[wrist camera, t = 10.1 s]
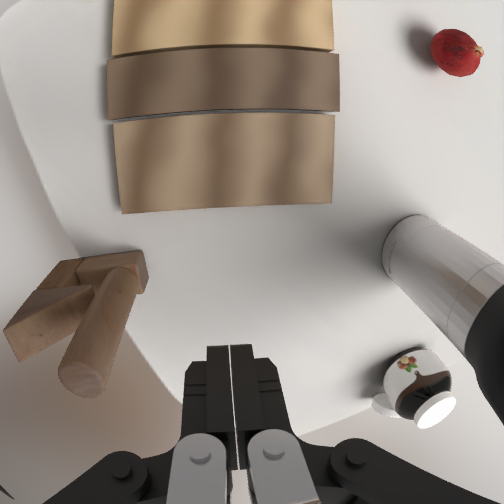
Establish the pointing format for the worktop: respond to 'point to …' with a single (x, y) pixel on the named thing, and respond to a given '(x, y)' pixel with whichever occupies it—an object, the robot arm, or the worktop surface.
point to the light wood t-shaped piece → (81, 316)
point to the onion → (456, 52)
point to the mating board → (222, 81)
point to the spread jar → (416, 388)
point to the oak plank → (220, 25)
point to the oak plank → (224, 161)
